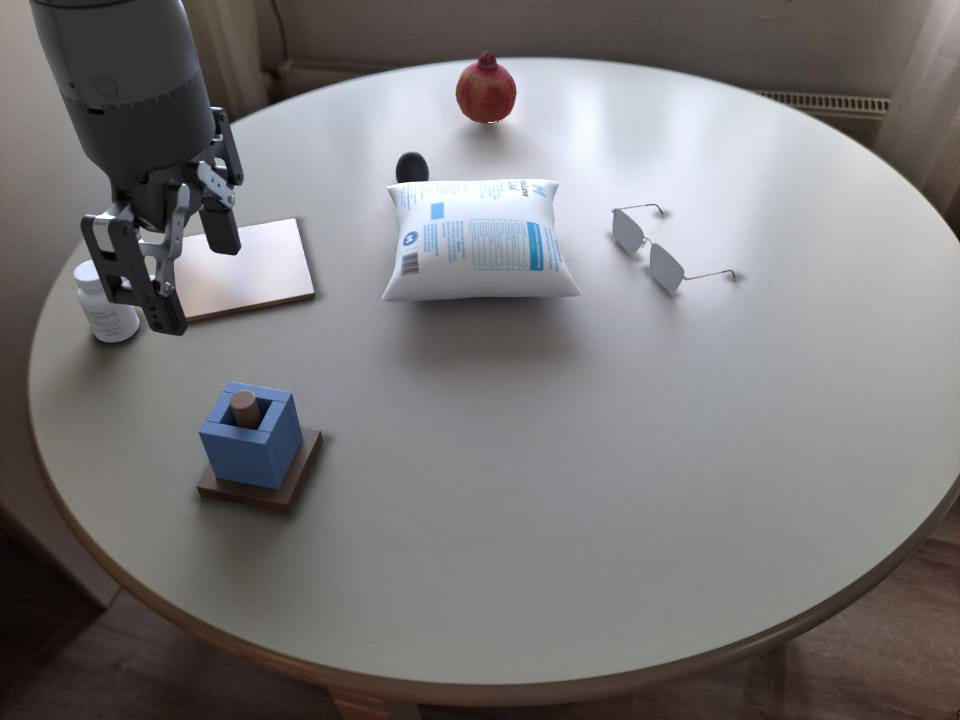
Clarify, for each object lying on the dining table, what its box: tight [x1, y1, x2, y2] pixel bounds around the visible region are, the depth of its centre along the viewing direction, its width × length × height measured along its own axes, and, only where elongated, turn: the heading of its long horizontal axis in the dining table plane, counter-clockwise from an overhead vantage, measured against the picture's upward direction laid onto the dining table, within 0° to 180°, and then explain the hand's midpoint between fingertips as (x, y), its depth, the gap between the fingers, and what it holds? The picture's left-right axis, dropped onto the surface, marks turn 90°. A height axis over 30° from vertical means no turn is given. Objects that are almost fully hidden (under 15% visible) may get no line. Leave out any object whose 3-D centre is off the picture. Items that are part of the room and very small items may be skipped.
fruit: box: [455, 50, 518, 125], centre depth 108 cm, size 8×8×10 cm
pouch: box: [381, 178, 582, 303], centre depth 87 cm, size 8×19×20 cm
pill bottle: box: [73, 259, 140, 344], centre depth 79 cm, size 4×4×8 cm
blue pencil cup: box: [198, 381, 303, 489], centre depth 67 cm, size 6×6×6 cm
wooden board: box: [173, 217, 316, 322], centre depth 88 cm, size 14×14×1 cm
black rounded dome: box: [395, 149, 430, 184], centre depth 98 cm, size 4×4×5 cm
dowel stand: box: [195, 390, 324, 515], centre depth 67 cm, size 8×8×9 cm
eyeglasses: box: [610, 203, 737, 292], centre depth 90 cm, size 14×8×4 cm, turn 27°
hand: (200, 289), depth 56 cm, fingers open, 8 cm apart
